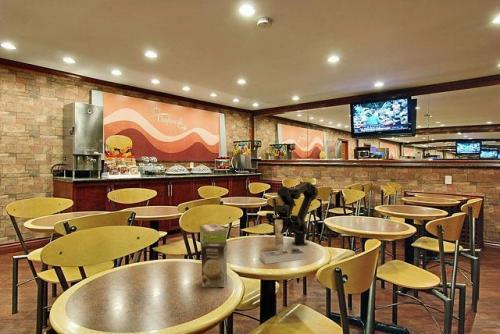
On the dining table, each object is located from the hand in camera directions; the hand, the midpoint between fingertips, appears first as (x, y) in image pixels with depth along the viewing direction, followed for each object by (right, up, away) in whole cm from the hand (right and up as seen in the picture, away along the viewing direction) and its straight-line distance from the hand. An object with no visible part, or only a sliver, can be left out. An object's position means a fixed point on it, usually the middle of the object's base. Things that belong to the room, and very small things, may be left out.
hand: (277, 233), depth 147 cm
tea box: (-33, -13, +5) cm, 35 cm away
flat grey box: (+2, -12, -4) cm, 13 cm away
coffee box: (-28, -13, -32) cm, 45 cm away
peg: (+1, -7, +1) cm, 7 cm away
